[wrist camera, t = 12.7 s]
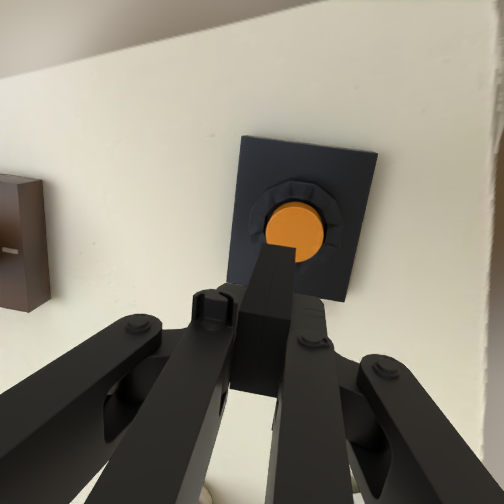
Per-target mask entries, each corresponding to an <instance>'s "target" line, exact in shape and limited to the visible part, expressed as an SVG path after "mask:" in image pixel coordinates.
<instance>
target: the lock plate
mask: <svg viewBox="0 0 504 504" xmlns="http://www.w3.org/2000/svg"><path fill="white" fill-rule="evenodd" d="M50 299H51V297H50V283H49V270H48V256H47V242H46V228H45V214H44V200H43V187H42V180H40V179H34V178H27V177H20V176H14V175H7V174H0V307H2V308H7V309H13V310H18V311H23V312H29V313H30V312H31V311H33V310H34V309H36V308H37V307H39V306H40V305H42V304H43V303H45V302H47V301H48V300H50Z"/></svg>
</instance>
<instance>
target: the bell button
mask: <svg viewBox="0 0 504 504" xmlns="http://www.w3.org/2000/svg"><path fill="white" fill-rule="evenodd" d="M323 237H324V232H323V226H322V221H321V218H320V216H319V214H318V213H317V211H316V210H315V209H314V208H312V207H311V206H310V205H308V204H305V203H302V202H289V203H285V204H283V205H281V206H280V207H278V208H277V209H276V210H275V211H274V212H273V214H272V216H271V218H270V220H269V222H268V225H267V228H266V241H267V243H268V244H274V245H280V246H287V247H293V248H296V258H295V262H302V261H305V260H307V259H309V258H311V257H312V256H314V255H315V254H316V253H317V252H318V250H319V249H320V247H321V245H322V242H323Z"/></svg>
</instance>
